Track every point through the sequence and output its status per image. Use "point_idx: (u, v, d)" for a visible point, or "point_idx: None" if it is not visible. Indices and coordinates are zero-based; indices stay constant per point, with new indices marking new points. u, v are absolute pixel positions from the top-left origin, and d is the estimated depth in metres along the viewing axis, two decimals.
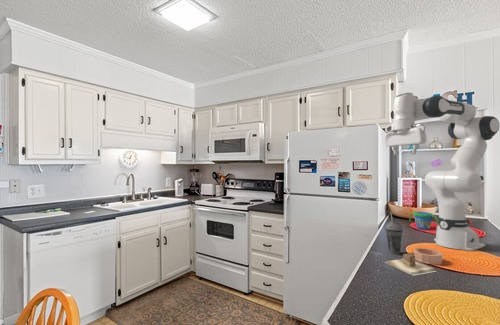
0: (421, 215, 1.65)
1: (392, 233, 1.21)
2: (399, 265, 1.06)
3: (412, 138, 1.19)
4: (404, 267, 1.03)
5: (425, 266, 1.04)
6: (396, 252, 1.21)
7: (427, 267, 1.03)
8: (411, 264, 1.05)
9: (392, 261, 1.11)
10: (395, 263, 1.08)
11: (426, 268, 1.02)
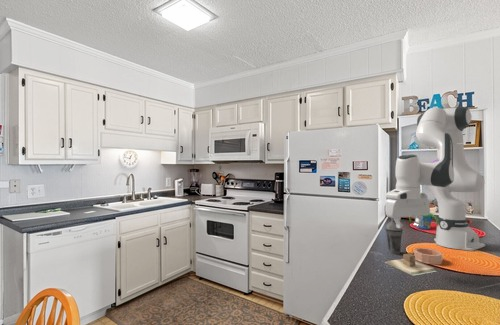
0: None
1: (392, 233, 1.21)
2: (399, 265, 1.06)
3: (422, 209, 1.06)
4: (404, 267, 1.03)
5: (425, 266, 1.04)
6: (396, 252, 1.21)
7: (427, 267, 1.03)
8: (411, 264, 1.05)
9: (392, 261, 1.11)
10: (395, 263, 1.08)
11: (426, 268, 1.02)
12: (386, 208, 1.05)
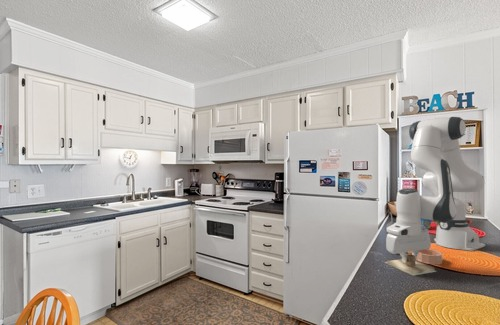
0: None
1: None
2: (399, 265, 1.06)
3: (423, 243, 1.06)
4: (404, 267, 1.03)
5: (425, 266, 1.04)
6: None
7: (427, 267, 1.03)
8: (411, 264, 1.05)
9: (392, 260, 1.11)
10: (395, 263, 1.08)
11: (426, 268, 1.02)
12: (387, 243, 1.05)
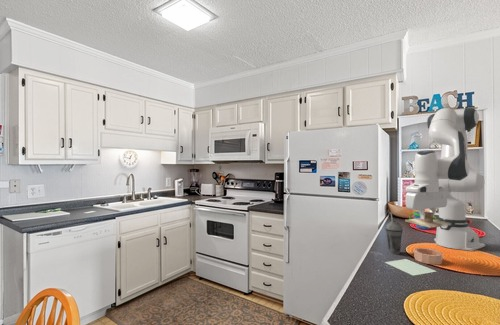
0: None
1: (392, 233, 1.21)
2: (418, 221, 1.13)
3: (440, 201, 1.13)
4: (423, 223, 1.10)
5: (442, 222, 1.12)
6: (396, 252, 1.21)
7: (444, 222, 1.10)
8: (429, 220, 1.12)
9: (410, 219, 1.18)
10: (414, 220, 1.15)
11: (444, 223, 1.09)
12: (407, 201, 1.12)
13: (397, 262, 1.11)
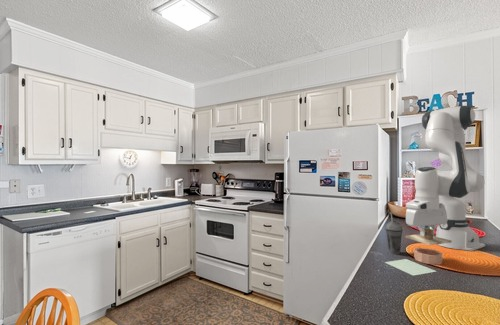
0: None
1: (392, 233, 1.21)
2: (418, 238, 1.12)
3: (440, 218, 1.13)
4: (423, 240, 1.10)
5: (442, 239, 1.11)
6: (396, 252, 1.21)
7: (444, 240, 1.10)
8: (429, 237, 1.12)
9: (410, 235, 1.17)
10: (414, 237, 1.15)
11: (444, 240, 1.09)
12: (407, 217, 1.11)
13: (397, 262, 1.11)
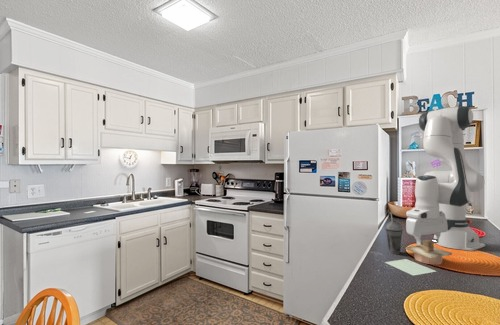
0: None
1: (392, 233, 1.21)
2: (418, 250, 1.13)
3: (441, 226, 1.13)
4: (423, 252, 1.10)
5: (443, 251, 1.11)
6: (396, 252, 1.21)
7: (445, 252, 1.10)
8: (430, 249, 1.12)
9: (411, 247, 1.18)
10: (414, 249, 1.15)
11: (444, 253, 1.09)
12: (407, 226, 1.12)
13: (397, 262, 1.11)
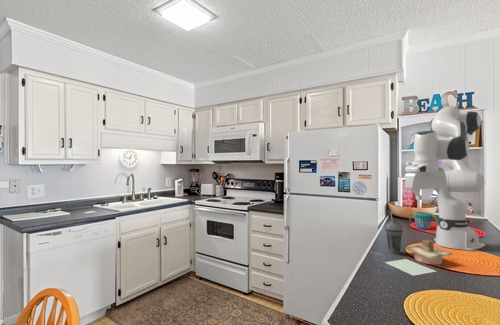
0: (421, 215, 1.65)
1: (392, 233, 1.21)
2: (418, 250, 1.13)
3: (440, 182, 1.13)
4: (423, 252, 1.10)
5: (443, 251, 1.11)
6: (396, 252, 1.21)
7: (445, 252, 1.10)
8: (430, 249, 1.12)
9: (411, 247, 1.18)
10: (414, 249, 1.15)
11: (444, 253, 1.09)
12: (406, 181, 1.11)
13: (397, 262, 1.11)
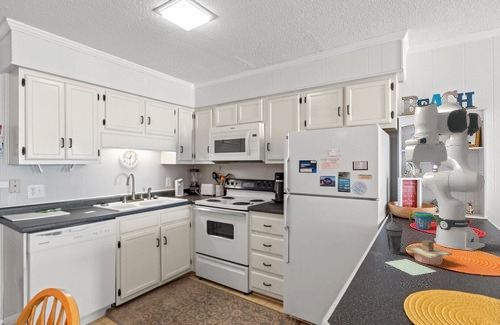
0: (421, 215, 1.65)
1: (392, 233, 1.21)
2: (418, 250, 1.13)
3: (440, 155, 1.11)
4: (423, 252, 1.10)
5: (443, 251, 1.11)
6: (396, 252, 1.21)
7: (445, 252, 1.10)
8: (430, 249, 1.12)
9: (411, 247, 1.18)
10: (414, 249, 1.15)
11: (444, 253, 1.09)
12: (406, 153, 1.09)
13: (397, 262, 1.11)
